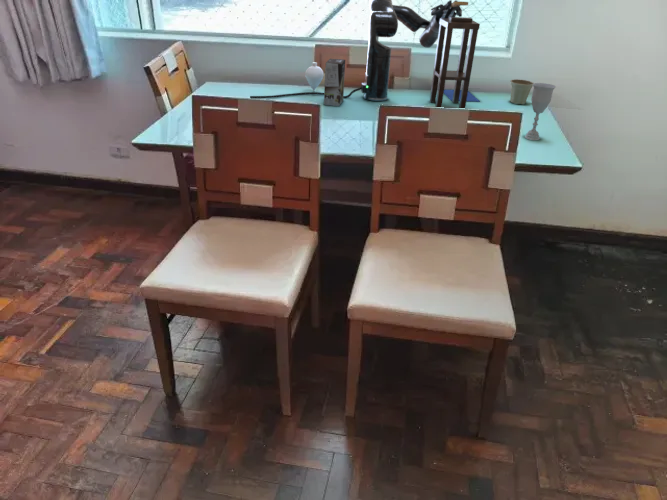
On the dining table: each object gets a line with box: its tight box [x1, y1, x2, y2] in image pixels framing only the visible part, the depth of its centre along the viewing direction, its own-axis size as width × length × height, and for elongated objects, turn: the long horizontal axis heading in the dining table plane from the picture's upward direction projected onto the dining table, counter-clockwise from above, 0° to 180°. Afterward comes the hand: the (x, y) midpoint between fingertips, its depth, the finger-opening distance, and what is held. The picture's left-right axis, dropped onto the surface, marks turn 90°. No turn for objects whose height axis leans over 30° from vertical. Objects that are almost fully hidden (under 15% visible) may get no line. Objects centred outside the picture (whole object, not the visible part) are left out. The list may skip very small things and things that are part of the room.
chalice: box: [524, 82, 556, 141], centre depth 189 cm, size 7×7×18 cm
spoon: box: [450, 1, 469, 8], centre depth 214 cm, size 18×6×5 cm, turn 5°
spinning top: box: [304, 61, 325, 92], centre depth 231 cm, size 8×8×12 cm
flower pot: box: [509, 78, 535, 105], centre depth 232 cm, size 9×9×9 cm
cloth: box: [443, 89, 480, 103], centre depth 240 cm, size 12×18×1 cm, turn 5°
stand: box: [429, 16, 481, 109], centre depth 217 cm, size 12×12×33 cm
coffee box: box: [323, 58, 346, 107], centre depth 217 cm, size 9×6×16 cm
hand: (453, 2), depth 217 cm, fingers closed on spoon, 1 cm apart
